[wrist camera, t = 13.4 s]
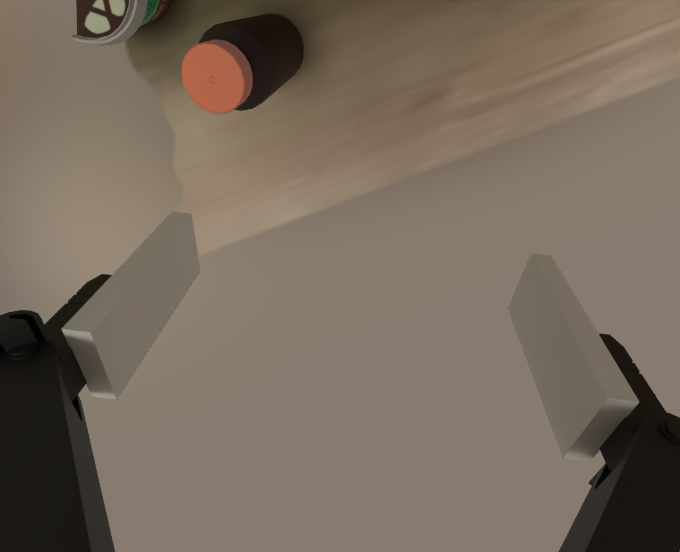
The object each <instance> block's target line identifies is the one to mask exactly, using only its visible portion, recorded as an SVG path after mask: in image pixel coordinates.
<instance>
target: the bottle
mask: <svg viewBox="0 0 680 552" xmlns="http://www.w3.org/2000/svg"><path fill="white" fill-rule="evenodd" d="M189 50H190V51H187V52H188V53H186V56H184V57H185V58H183V59H184V60H183V61H182V62H183V64H182V67H181V68H182V70H181V71H182V73H181V74H182V76H181V77H182V80H183V83H184V86H185V89H186V92H188V94H189V95H190V97H191V98H192V100H193V102H195V103H196V104H198V106H200V108H203V109H205V110H208V112H209V111H210V112H211V113H212V112H213V113H216V114H217V113H219V114H220V113H221V114H222V113H227V112H230V111H232V110H240V111H243V110H248V109H253V108H255V107H256V106H258V105H259V104H261V103H263V102H264V101H265V100H266V99H267V98H268V97H269V96H271V95H272V94H273V93H274V92H275V91H276V90H277V89H278V88H280V87H281V86H282V85H283V84H284V83H285V82H286V81H288V80H289V79H290V78H291V77H292V76H293V75H294V74H295V73H296V72H297V70H298V69H299V68H300V65H301V62H302V59H303V44H302V40H301V36H300V34H299V33H298V31H297V29H296V27H295V26H294V25H293V24H292V23H291V22H290V21H289V20H288V19H286V18H284V17H282V16H280V15H277V14H265V15H260V16H255V17H250V18H245V19H239V20H234V21H229V22H225V23H221V24H217V25H214V26H213V27H212V28H210V29H209V30H208V31H206V32H205V33H204V35H203V36H202V38H201V40H200V41H199V43H198V44H196V45H195V46H193V47H191V49H189Z"/></svg>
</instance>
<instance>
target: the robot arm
mask: <svg viewBox="0 0 680 552" xmlns="http://www.w3.org/2000/svg"><path fill="white" fill-rule="evenodd" d="M199 273H200V266H199V259H198V253H197V246H196V240H195V234H194V227H193V221H192V214H188V213H179V212H172V213H171V214H169V216H168V217H167V218H166V219H165V220H164V221H163V222H162V223H161V224H160V225H159V226H158V227H157V228H156V229H155V231H153V232H152V234H151V235H150V236H149V237H148V238H147V239H146V240H145V241H144V242H143V243H142V244H141V245H140V246H139V247H138V248H137V249H136V251H135V252H134V253H133V254H132V255H131V256H130V257H129V258H128V259H127V260H126V261H125V262H124V263H123V264H122V265H121V266H120V268H118V270H117V271H116V272H115V273H114V274H113V275H106V274H101V275H99V276H98V277H96V278H94V279H92V280H90V281H89V282H87V283H86V284H85V285H84V286H83V287H82V288H81V289H80V290H79V291H78V292H77V294H76V295H74V296H73V297H72V298H71V299H70V300H69V301H68V304H65V305H64V306H63V307H62V308H61V309H60V310H59V311H58V312H57V313H56V314H55V315H54V316H53V317H52V318H51V319H50V320H49V321H48V322H47V323H46V324H45V325H44V323H43V321H42V319H41V317H40V316H39V314H38V313H35V312H33V311H27V310H19V311H14V312H9V313H6V314H3V315H0V552H115V550H114V545H113V541H112V536H111V532H110V527H109V523H108V518H107V514H106V510H105V505H104V501H103V496H102V492H101V487H100V483H99V479H98V475H97V470H96V465H95V461H94V456H93V452H92V448H91V443H90V439H89V434H88V430H87V425H86V421H85V416H84V412H83V408H82V403H81V400H80V398H79V396H78V394H79V392H80V391H81V389H82V388H83V387H84V386H85V384H87V387H88V389H89V391H90V393H91V395H92V396H94V397H102V398H109V399H118V397H119V396H120V394H121V392H122V391H123V389H124V388H125V386H126V385H127V383H128V382H129V380H130V379H131V377H132V376H133V374H134V372H135V371H136V369H137V368H138V366H139V365H140V363H141V362H142V360H143V359H144V357H145V356H146V354H147V352H148V351H149V349H150V348H151V346H152V345H153V343H154V342H155V340H156V339H157V337H158V336H159V334H160V333H161V331H162V329H163V328H164V326H165V324H166V323H167V322H168V320H169V319H170V317H171V316H172V314H173V313H174V311H175V310H176V308H177V306H178V305H179V303H180V302H181V300H182V299H183V297H184V296H185V294H186V293H187V291H188V290H189V288H190V286H191V285H192V283H193V282H194V280H195V279H196V277H197V276H198V274H199ZM508 311H509V313H510V316H511V319H512V322H513V324H514V327H515V330H516V332H517V335H518V338H519V341H520V343H521V346H522V348H523V351H524V354H525V357H526V360H527V362H528V365H529V367H530V370H531V373H532V375H533V378H534V381H535V384H536V387H537V389H538V392H539V395H540V397H541V400H542V403H543V405H544V408H545V411H546V413H547V416H548V419H549V422H550V424H551V427H552V430H553V432H554V435H555V438H556V441H557V443H558V446H559V449H560V451H561V454H562V457H563V458H566V459H573V460H581V461H589V462H590V461H591V460H592V459H593V457H594V456H595V455H596V453H598V451H599V450H601V453H602V455H603V457H604V460H605V462H606V463H605V465H604V466H603V467H602V468H601V469H600V470H599V471H598V472H597V474H596V475H595V476H594V477H593V478H592V479H591V480H590V482H589V484H590V485H592V487H591V489H590V491H589V493H588V495H587V497H586V499H585V501H584V503H583V505H582V507H581V509H580V511H579V513H578V515H577V517H576V518H575V520H574V522H573V524H572V527H571V529H570V530H569V533H568V534H567V536H566V538H565V540H564V542H563V544H562V546H561V548H560V550H559V552H679V551H680V418H679V417H677V416H675V415H672V414H670V413H666V411H665V410H664V408H663V407H662V405H661V403H660V402H659V400H658V399H657V398H656V396H655V394H654V393H653V391H652V390H651V388H650V387H649V385H648V384H647V382H646V380H645V379H644V377H643V376H642V374H639V370H638V368H637V367H636V365H635V363H632V359H631V357H630V356H629V355H628V353H627V351H626V350H625V348H624V347H623V346H622V345H621V344H620V343H619V342H617V341H616V340H615V339H614V338H613V337H612V336H610V335H607V334H599V333H598V332H597V331H596V329H595V328H594V326H593V324H592V322H591V321H590V319H589V317H588V316H587V314H586V312H585V311H584V309H583V307H582V306H581V304H580V302H579V301H578V299H577V298H576V296H575V294H574V293H573V291H572V289H571V288H570V286H569V284H568V282H567V281H566V279H565V277H564V276H563V274H562V273H561V271H560V269H559V268H558V266H557V264H556V263H555V261H554V259H553V258H552V256H549V255H541V254H532V253H531V255H530V257H529V259H528V262H527V264H526V266H525V269H524V271H523V273H522V276H521V278H520V281H519V283H518V285H517V288H516V290H515V293H514V294H513V297H512V299H511V302H510V304H509V306H508Z"/></svg>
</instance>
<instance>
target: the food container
mask: <svg viewBox="0 0 680 552" xmlns="http://www.w3.org/2000/svg"><path fill="white" fill-rule="evenodd" d="M76 1H77V2H76V3H77V34H76V35H73V36H71V37H70V38H74V40H77V41H81V42H84V43H89V44H96V45H114V44H118V43H121V42H123V41H125V40H127V39H128V38H129V37H131V36H132V35H133V34H134V33H135V32H136V31H137V29H138V28H139V27H140V26H143V25H145V24H148V23H150V22H152V21H155V20H157V19H159V18H160V17H161V16H162V15H163V14H164V13H165V12H166V11H167V9H168V8H169V5H170V2H171V0H76Z"/></svg>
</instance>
